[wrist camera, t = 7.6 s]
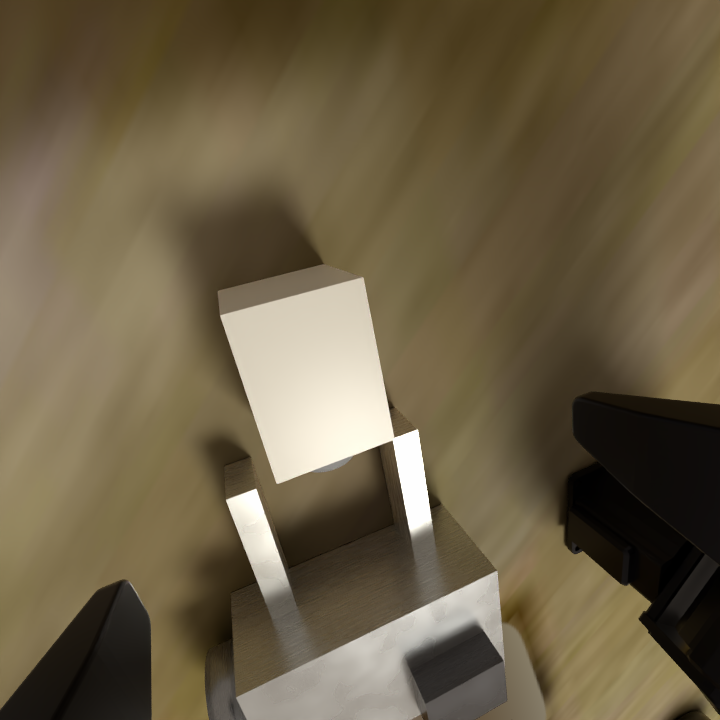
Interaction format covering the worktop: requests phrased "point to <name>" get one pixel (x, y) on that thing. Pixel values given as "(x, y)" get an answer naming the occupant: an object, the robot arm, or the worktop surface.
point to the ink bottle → (694, 716)
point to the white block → (308, 367)
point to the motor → (361, 614)
